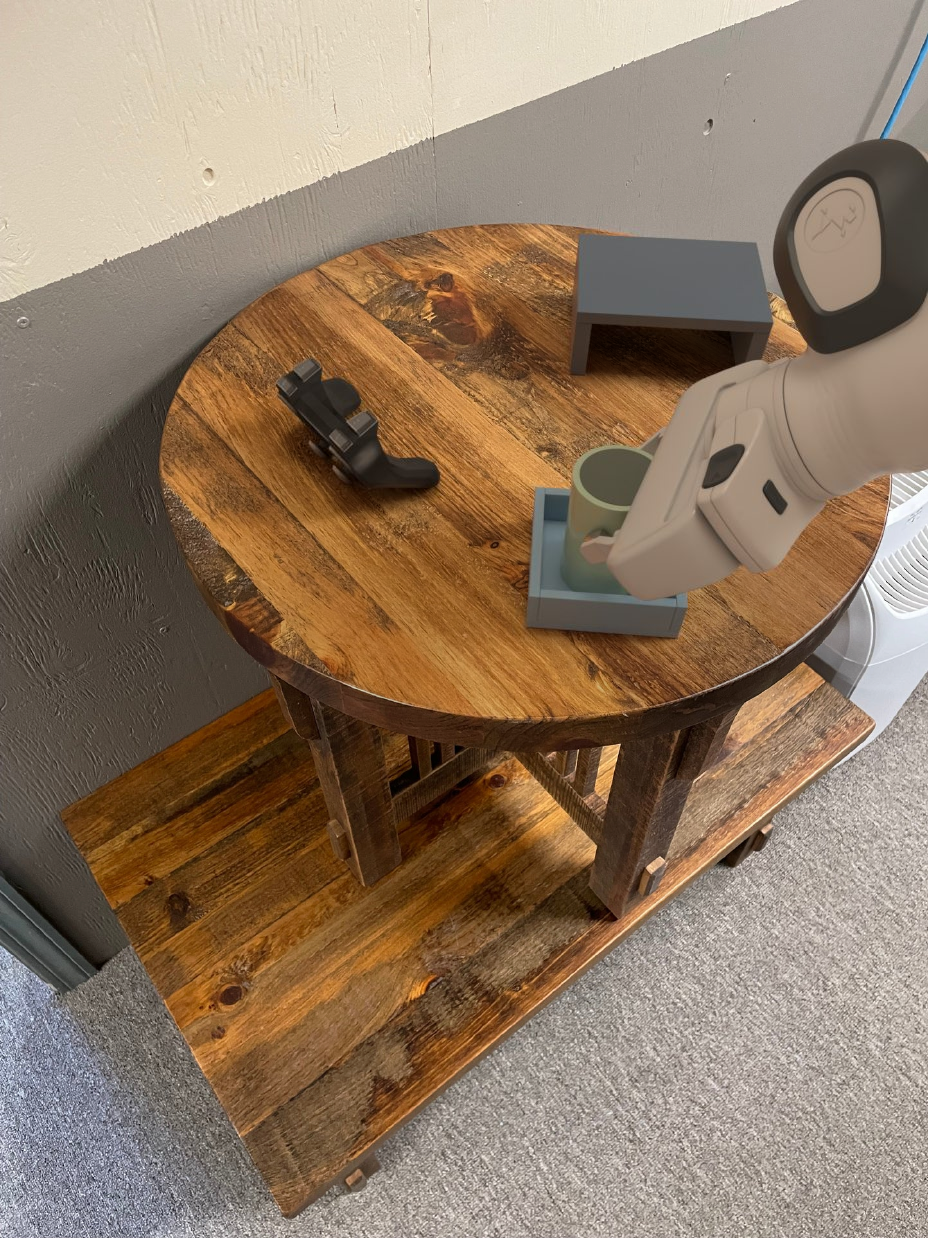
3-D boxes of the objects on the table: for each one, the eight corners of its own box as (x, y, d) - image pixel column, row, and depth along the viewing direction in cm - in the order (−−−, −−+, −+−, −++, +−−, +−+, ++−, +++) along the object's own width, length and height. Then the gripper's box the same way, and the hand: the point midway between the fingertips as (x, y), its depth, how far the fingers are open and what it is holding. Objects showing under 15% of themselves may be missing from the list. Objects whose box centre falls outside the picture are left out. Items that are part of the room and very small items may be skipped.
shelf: (739, 303, 93) (756, 242, 88) (753, 385, 85) (774, 322, 79) (572, 295, 94) (578, 233, 89) (569, 374, 86) (577, 311, 80)
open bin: (669, 528, 73) (678, 495, 70) (677, 638, 66) (688, 607, 63) (532, 518, 74) (535, 486, 71) (525, 627, 67) (528, 596, 64)
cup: (643, 540, 71) (666, 446, 63) (646, 605, 67) (671, 513, 59) (560, 535, 71) (573, 440, 63) (558, 598, 67) (571, 506, 59)
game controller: (302, 437, 84) (241, 380, 75) (352, 387, 83) (296, 323, 75) (397, 536, 76) (340, 485, 67) (452, 481, 75) (402, 422, 67)
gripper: (785, 314, 59) (626, 393, 69) (711, 513, 47) (533, 572, 58) (830, 385, 61) (669, 451, 71) (769, 590, 50) (589, 634, 60)
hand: (608, 507), depth 64 cm, fingers open, 8 cm apart
